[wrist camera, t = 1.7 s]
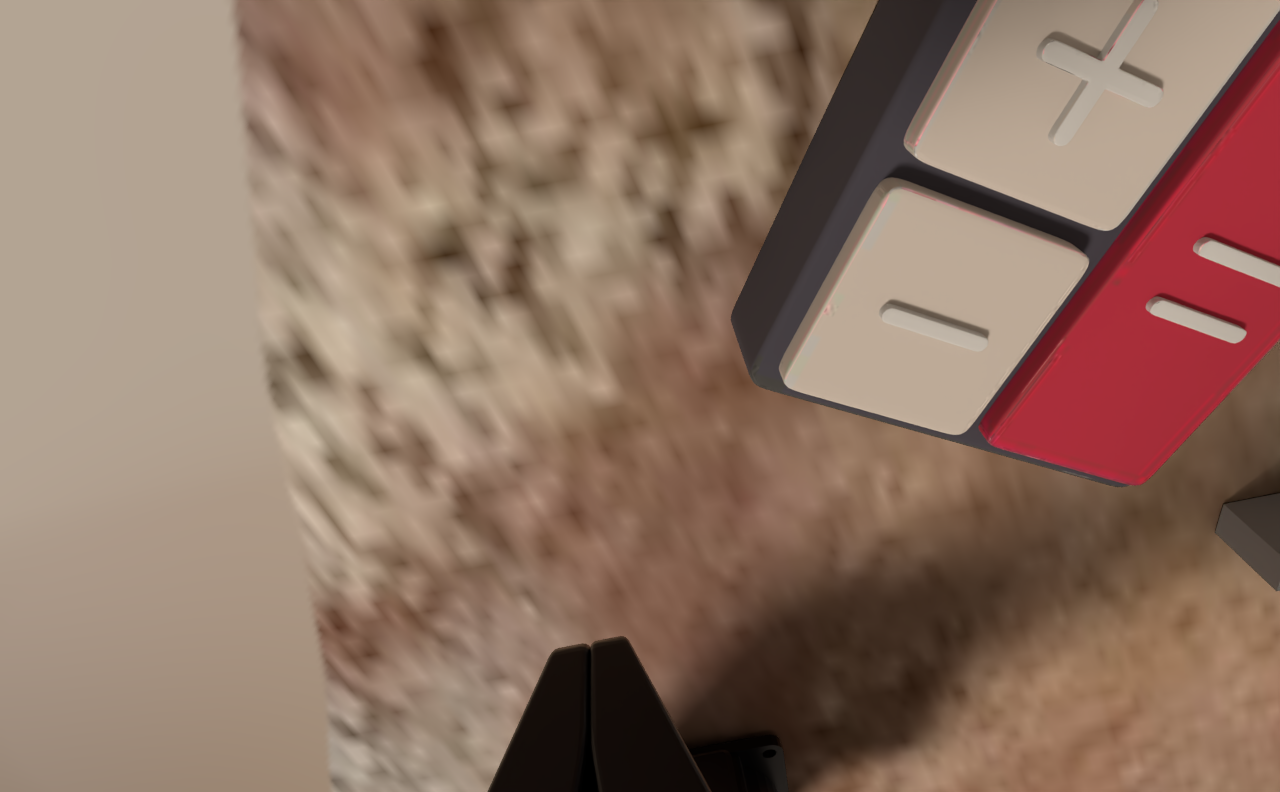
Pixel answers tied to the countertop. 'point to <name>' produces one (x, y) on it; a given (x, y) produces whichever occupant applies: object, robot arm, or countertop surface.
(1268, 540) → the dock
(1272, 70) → the calculator
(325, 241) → the countertop surface
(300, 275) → the countertop surface
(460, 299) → the countertop surface
